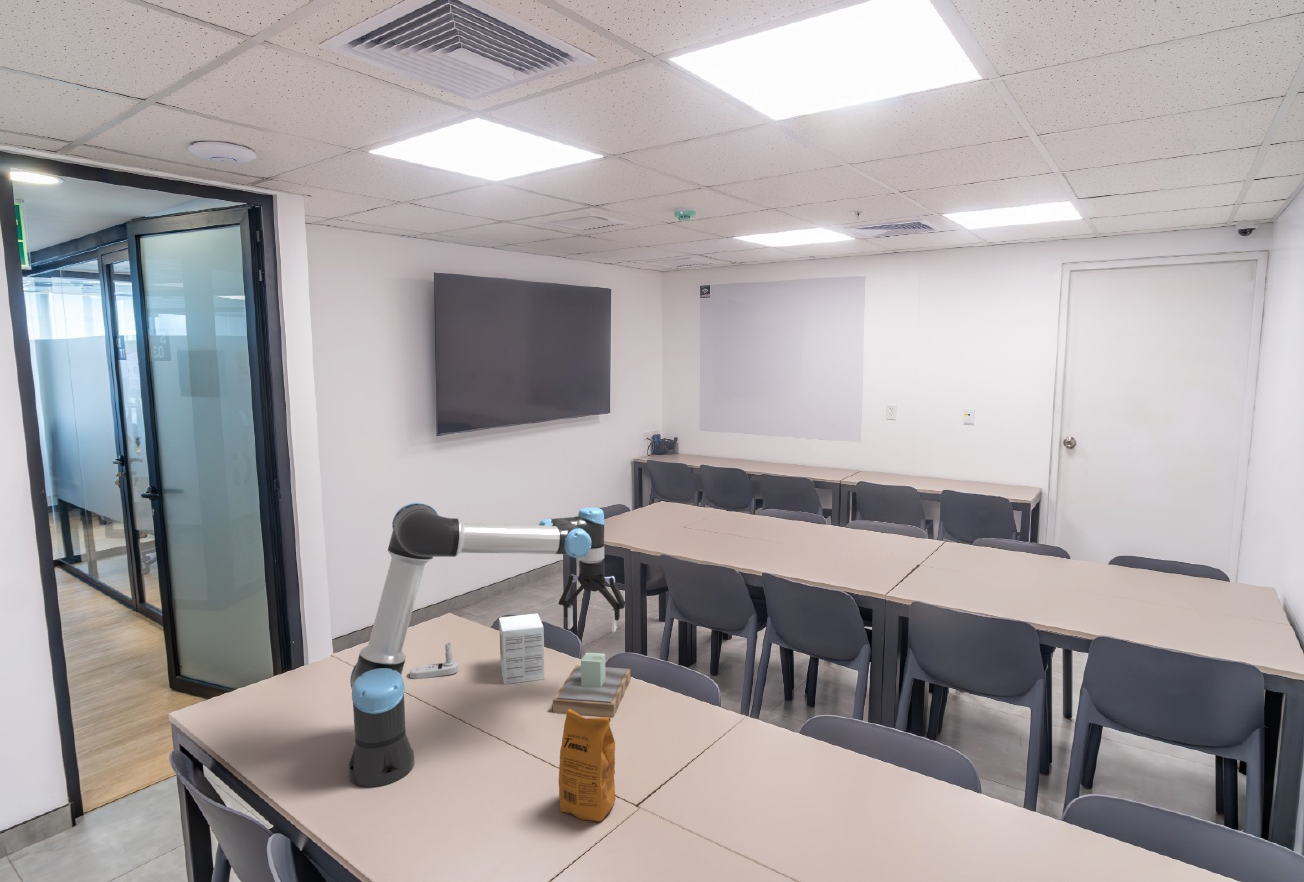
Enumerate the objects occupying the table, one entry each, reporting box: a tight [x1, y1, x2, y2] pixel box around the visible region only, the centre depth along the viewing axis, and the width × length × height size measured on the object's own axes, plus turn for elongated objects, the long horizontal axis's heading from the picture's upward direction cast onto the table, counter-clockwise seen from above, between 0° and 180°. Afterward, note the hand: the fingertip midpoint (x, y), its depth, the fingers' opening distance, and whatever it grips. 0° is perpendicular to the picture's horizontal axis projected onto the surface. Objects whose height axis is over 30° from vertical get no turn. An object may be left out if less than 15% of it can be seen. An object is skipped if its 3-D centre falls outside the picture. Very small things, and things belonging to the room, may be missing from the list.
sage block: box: [580, 652, 606, 688], centre depth 204 cm, size 6×6×8 cm
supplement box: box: [498, 613, 545, 685], centre depth 220 cm, size 13×13×18 cm
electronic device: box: [409, 642, 459, 680], centre depth 220 cm, size 5×10×15 cm
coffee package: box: [558, 709, 616, 822], centre depth 151 cm, size 10×12×22 cm
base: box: [552, 664, 632, 718], centre depth 205 cm, size 24×18×4 cm
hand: (592, 629), depth 203 cm, fingers open, 13 cm apart
